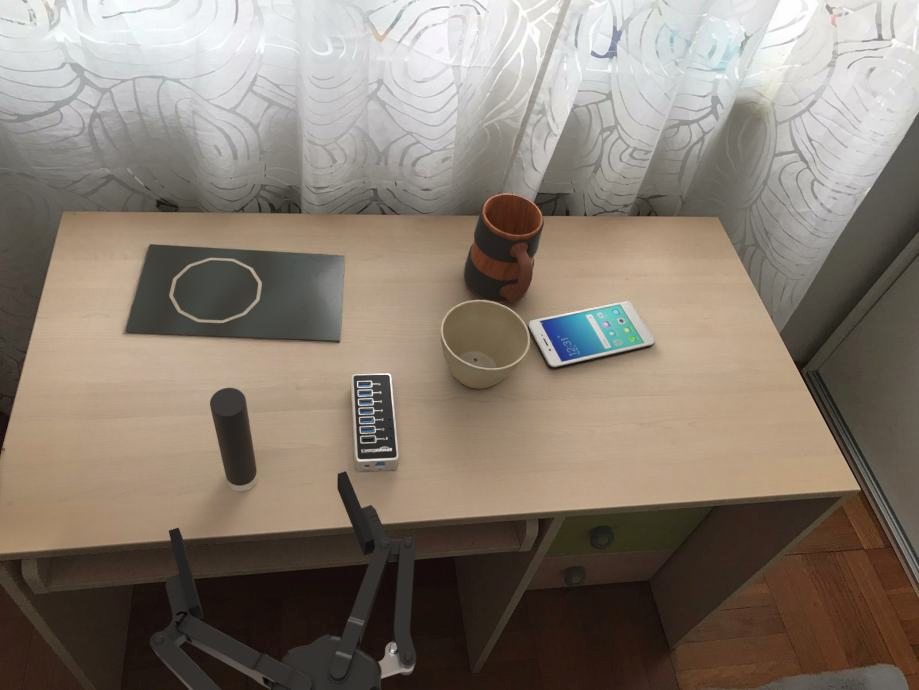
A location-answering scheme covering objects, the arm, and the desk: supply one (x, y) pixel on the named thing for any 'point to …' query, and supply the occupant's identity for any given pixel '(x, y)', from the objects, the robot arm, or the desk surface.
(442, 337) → the flower pot
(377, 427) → the multiport hub
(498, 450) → the desk surface
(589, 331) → the smartphone
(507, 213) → the mug
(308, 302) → the board
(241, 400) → the cylinder
